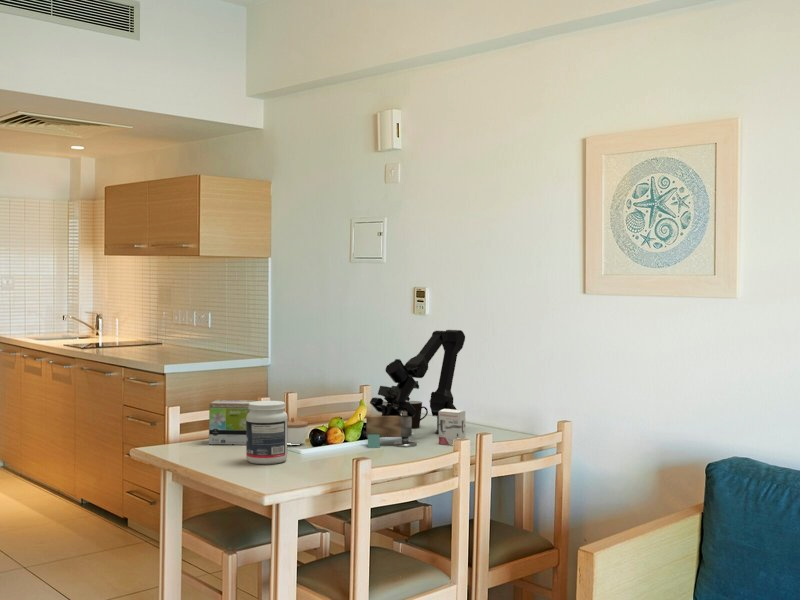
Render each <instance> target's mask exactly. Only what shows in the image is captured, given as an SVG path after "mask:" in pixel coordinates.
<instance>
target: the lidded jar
mask: <svg viewBox="0 0 800 600" xmlns="http://www.w3.org/2000/svg"><path fill="white" fill-rule="evenodd" d="M308 426H309V422H308V421H305V420H298V419H297V420H296V419H295V418H294V417H291V419H290V420H288V436H287V440H288V442H287V443H291V444H301V443H302V444H303V443H304V442H305V440H306V438H307V436H308V431H309V430H308V428H309V427H308ZM302 444H301V445H302Z"/></svg>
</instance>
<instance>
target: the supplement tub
mask: <svg viewBox="0 0 800 600" xmlns="http://www.w3.org/2000/svg"><path fill="white" fill-rule="evenodd" d="M248 409H249V410H250V412H249V413H248V414H247V416H246V445H245V446H246V451H245V452H246V460H247V461H248V462H249V463H251V464H254V465H256V464H257V465H275V464H281V463H283V462H285V461H286V460H287V459H288V457H289V455H288V446H287V442H288V440H287V436H288V413H287V412H286V411H285V409H286V402H284V401H281V400H257V401H255V402H250V403H249V407H248Z"/></svg>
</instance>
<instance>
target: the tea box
mask: <svg viewBox="0 0 800 600" xmlns="http://www.w3.org/2000/svg"><path fill="white" fill-rule="evenodd" d="M255 401H256V400H255V399H254V400H252V399H251V400H248V399H247V400H246V399H214V400H213V401H212V402H210V403H209V409H208V411H209V417H208V444H211V445H232V444H234V445H237V446H238V445H239V446H246V416H247V414H248V413H249V412H250V410H249V409H248V407H249V403H250V402H255Z"/></svg>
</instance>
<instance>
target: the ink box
mask: <svg viewBox="0 0 800 600" xmlns="http://www.w3.org/2000/svg"><path fill="white" fill-rule="evenodd" d="M457 438H466V410H463V409H457V410H454V409H442V410H440V411H439V434H438V444H439V445H447V446H453V445H452V444H453V440H454V439H457Z"/></svg>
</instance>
